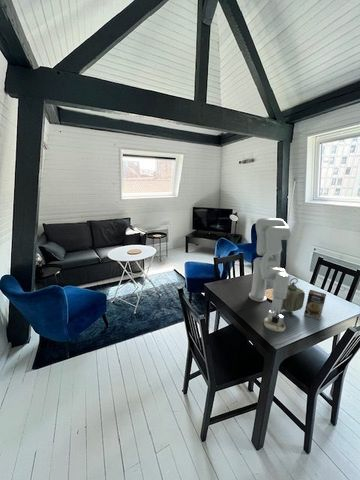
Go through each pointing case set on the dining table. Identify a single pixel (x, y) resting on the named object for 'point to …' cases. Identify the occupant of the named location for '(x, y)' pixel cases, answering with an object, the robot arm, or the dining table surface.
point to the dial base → (274, 326)
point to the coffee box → (315, 304)
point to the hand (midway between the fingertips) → (275, 320)
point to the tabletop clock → (293, 298)
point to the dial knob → (280, 318)
